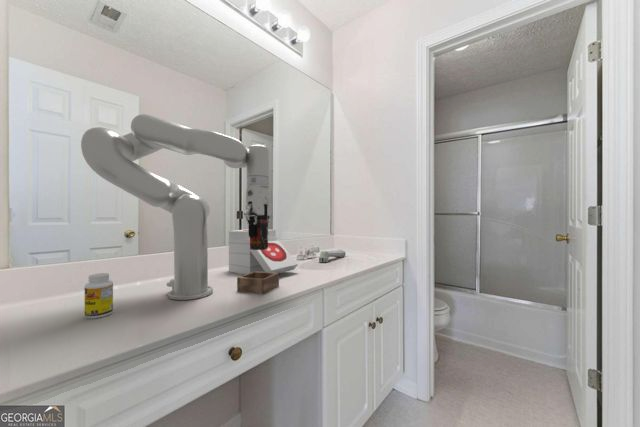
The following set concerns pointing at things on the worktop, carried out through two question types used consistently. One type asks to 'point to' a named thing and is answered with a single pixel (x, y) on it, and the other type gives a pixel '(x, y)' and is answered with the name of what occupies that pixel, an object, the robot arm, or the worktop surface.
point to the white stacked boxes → (258, 255)
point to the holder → (257, 282)
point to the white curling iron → (330, 255)
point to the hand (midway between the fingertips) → (258, 235)
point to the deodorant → (261, 232)
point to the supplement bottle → (98, 296)
